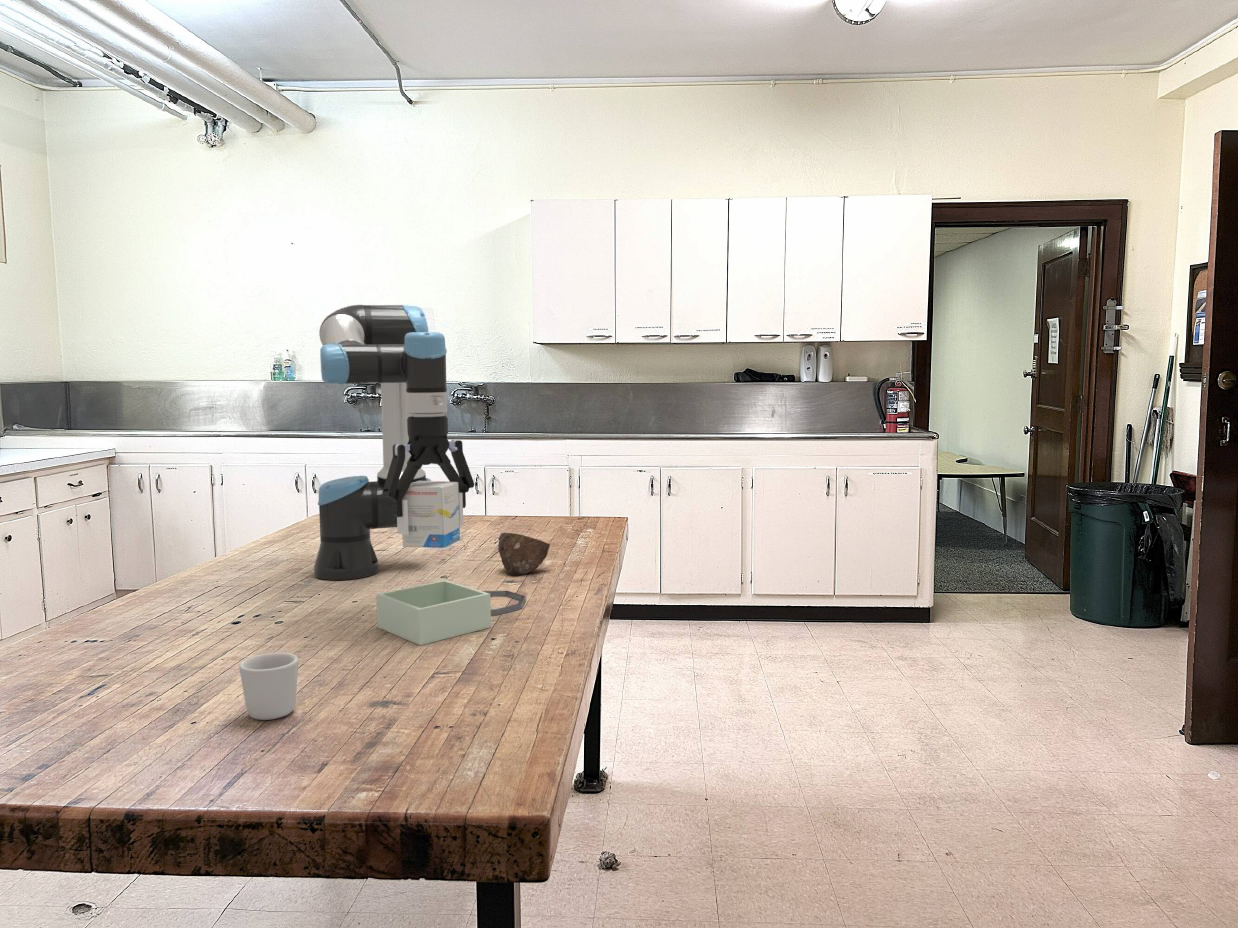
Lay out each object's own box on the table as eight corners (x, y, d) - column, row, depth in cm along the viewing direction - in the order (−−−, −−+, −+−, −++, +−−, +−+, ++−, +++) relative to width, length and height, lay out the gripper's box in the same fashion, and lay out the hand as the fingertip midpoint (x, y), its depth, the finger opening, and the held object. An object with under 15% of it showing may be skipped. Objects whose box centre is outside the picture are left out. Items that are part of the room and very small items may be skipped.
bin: (377, 627, 171) (376, 593, 170) (446, 611, 182) (445, 579, 181) (420, 645, 160) (418, 609, 159) (491, 627, 170) (490, 593, 170)
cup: (258, 697, 135) (255, 646, 134) (311, 695, 136) (309, 645, 135) (234, 725, 125) (231, 671, 124) (292, 723, 125) (289, 669, 124)
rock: (549, 548, 220) (551, 532, 211) (540, 586, 215) (541, 571, 206) (501, 536, 220) (501, 520, 211) (490, 574, 215) (490, 559, 206)
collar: (434, 604, 187) (434, 600, 187) (495, 591, 197) (495, 586, 197) (477, 619, 175) (477, 614, 175) (538, 604, 186) (538, 600, 186)
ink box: (461, 539, 172) (459, 480, 171) (444, 548, 164) (442, 486, 163) (420, 538, 174) (418, 479, 173) (401, 547, 166) (399, 485, 164)
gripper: (380, 418, 155) (384, 540, 158) (490, 413, 172) (493, 523, 174) (359, 417, 161) (364, 535, 163) (468, 411, 177) (471, 519, 179)
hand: (431, 529), depth 169 cm, fingers closed on ink box, 11 cm apart
